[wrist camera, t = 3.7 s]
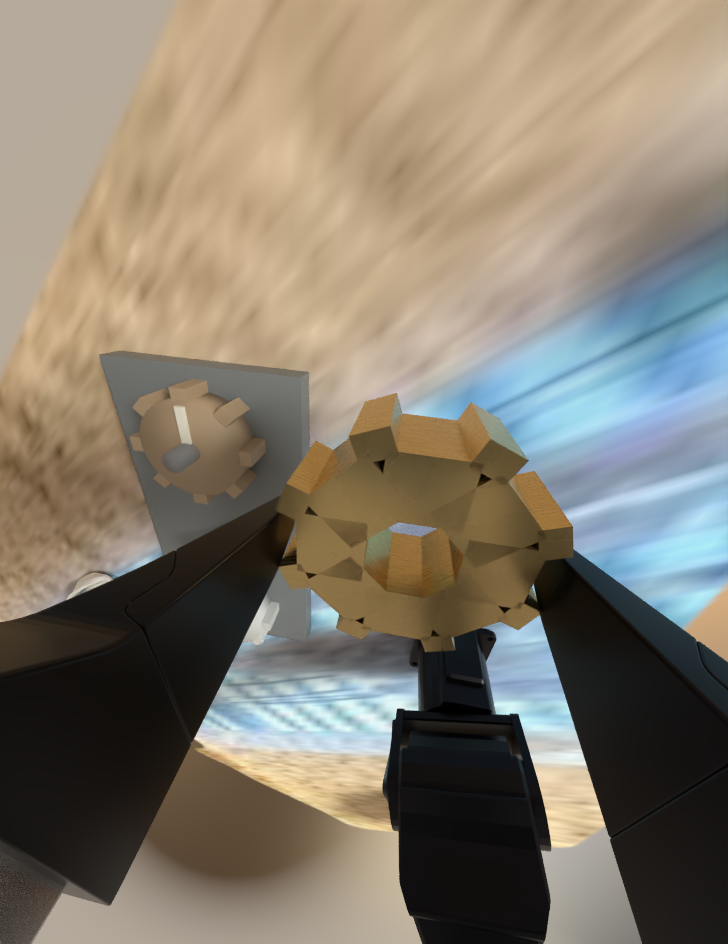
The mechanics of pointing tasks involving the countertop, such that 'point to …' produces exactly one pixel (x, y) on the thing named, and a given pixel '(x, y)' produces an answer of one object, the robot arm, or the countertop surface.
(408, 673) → the countertop surface
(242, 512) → the gear board
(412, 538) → the brass gear
